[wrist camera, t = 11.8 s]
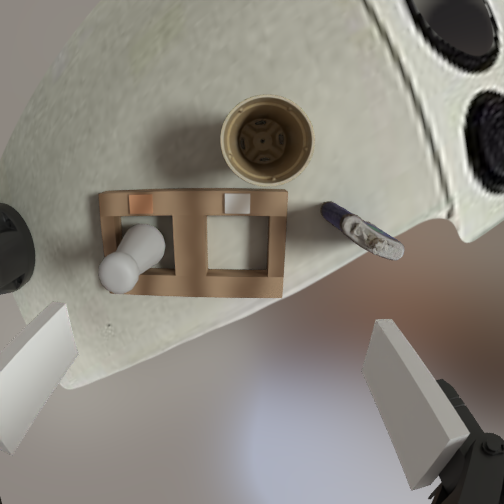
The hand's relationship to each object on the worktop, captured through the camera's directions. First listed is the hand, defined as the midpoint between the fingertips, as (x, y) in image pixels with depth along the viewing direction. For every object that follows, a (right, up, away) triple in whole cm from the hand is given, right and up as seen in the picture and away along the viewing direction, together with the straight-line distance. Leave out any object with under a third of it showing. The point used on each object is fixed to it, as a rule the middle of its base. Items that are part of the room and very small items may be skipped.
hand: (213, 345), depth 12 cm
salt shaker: (-12, +5, +29) cm, 32 cm away
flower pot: (+3, +17, +26) cm, 31 cm away
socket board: (-6, +5, +29) cm, 31 cm away
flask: (+15, +8, +29) cm, 34 cm away
